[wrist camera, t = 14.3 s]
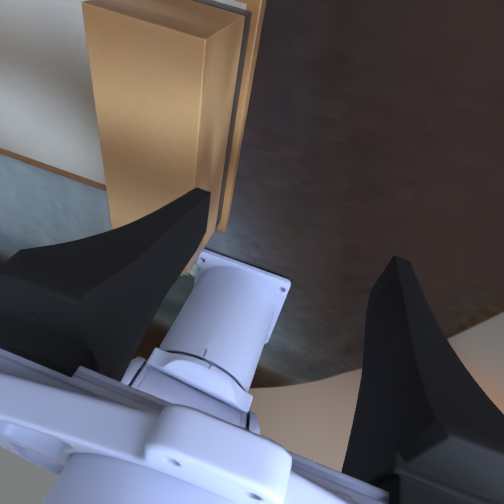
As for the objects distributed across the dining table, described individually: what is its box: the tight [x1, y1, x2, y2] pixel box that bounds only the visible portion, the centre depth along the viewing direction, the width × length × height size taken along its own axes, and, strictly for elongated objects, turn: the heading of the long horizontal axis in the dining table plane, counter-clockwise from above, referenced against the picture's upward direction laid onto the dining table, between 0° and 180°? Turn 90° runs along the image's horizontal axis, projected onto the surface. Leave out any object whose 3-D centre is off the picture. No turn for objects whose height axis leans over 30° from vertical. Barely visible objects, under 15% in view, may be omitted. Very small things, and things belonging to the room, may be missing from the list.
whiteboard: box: [0, 0, 266, 232], centre depth 23 cm, size 15×20×1 cm
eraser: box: [81, 0, 252, 274], centre depth 20 cm, size 13×5×6 cm, turn 170°
